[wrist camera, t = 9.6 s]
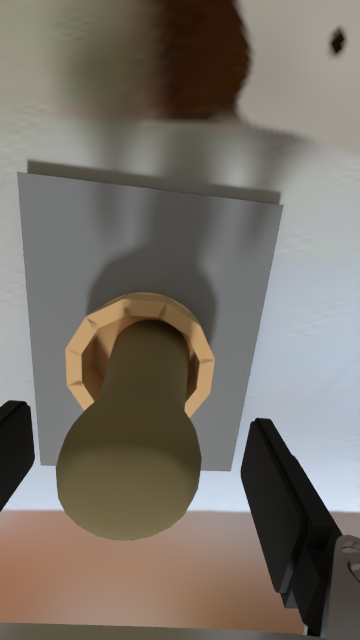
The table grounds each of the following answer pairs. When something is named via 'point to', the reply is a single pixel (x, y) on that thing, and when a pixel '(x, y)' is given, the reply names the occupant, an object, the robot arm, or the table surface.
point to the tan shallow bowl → (109, 321)
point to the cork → (134, 440)
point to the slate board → (144, 286)
